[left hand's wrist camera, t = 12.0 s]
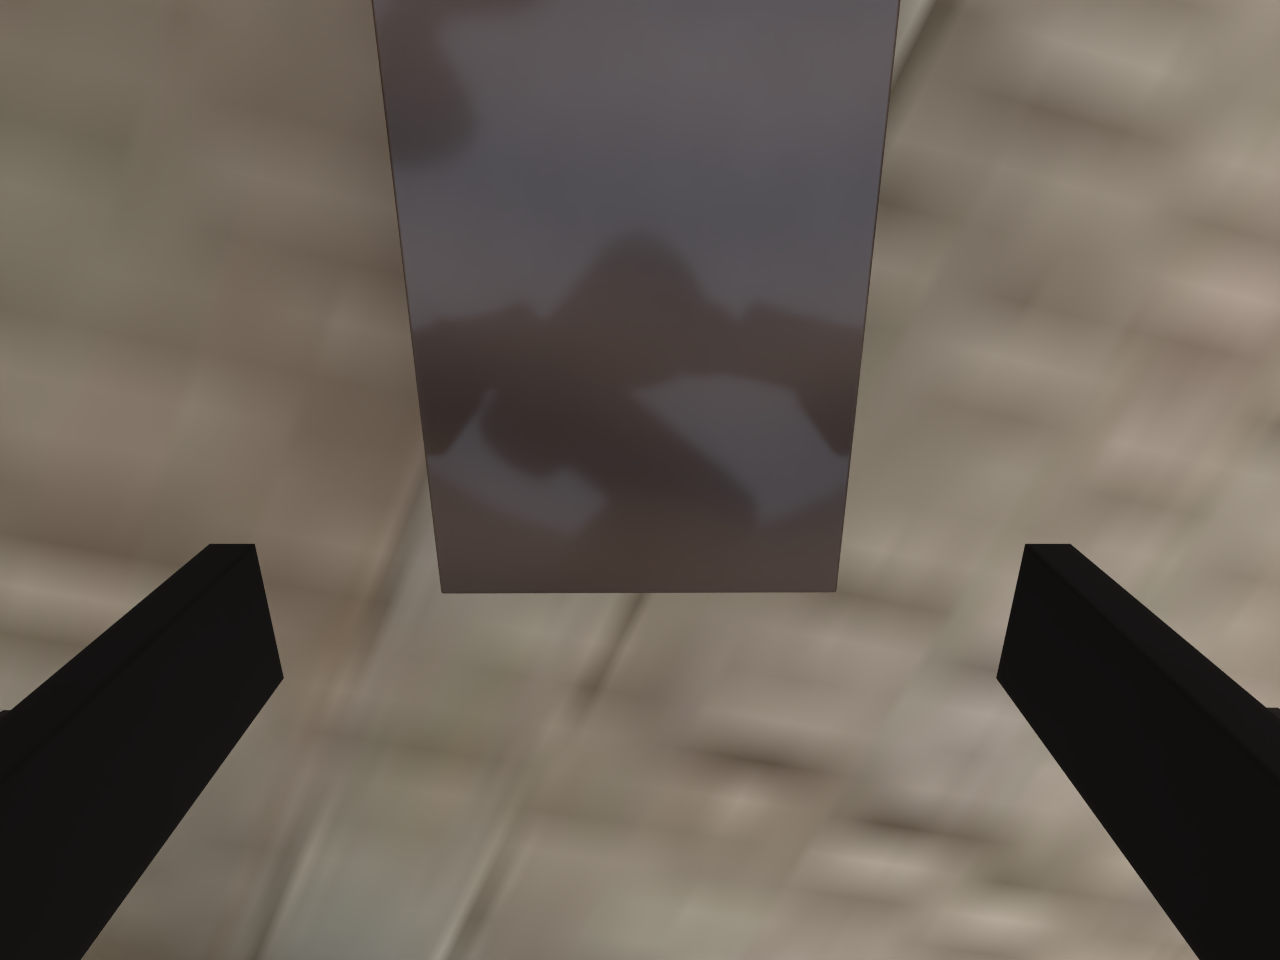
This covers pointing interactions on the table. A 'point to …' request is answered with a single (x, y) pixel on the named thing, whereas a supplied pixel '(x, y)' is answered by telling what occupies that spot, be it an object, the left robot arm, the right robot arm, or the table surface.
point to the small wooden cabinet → (637, 281)
